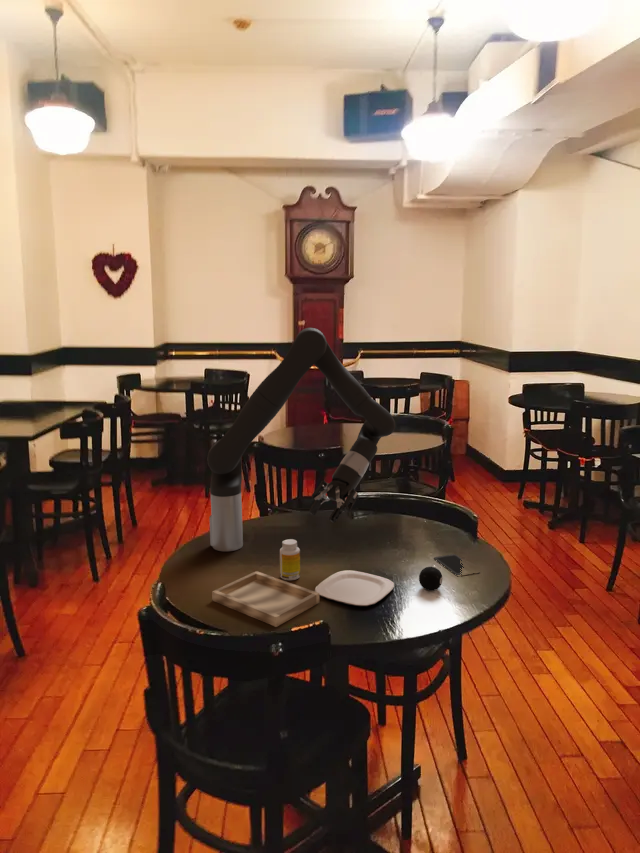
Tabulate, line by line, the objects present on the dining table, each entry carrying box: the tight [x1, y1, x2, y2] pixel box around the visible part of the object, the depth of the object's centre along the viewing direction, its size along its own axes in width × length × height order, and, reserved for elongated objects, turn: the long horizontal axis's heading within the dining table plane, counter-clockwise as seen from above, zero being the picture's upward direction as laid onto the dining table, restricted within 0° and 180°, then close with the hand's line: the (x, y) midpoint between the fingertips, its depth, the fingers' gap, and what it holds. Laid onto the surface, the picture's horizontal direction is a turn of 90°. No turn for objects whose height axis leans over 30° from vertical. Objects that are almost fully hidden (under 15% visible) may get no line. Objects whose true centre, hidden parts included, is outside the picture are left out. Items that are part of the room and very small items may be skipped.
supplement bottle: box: [279, 538, 301, 581], centre depth 184 cm, size 6×6×10 cm
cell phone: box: [433, 553, 464, 576], centre depth 192 cm, size 7×14×1 cm, turn 20°
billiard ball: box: [418, 566, 443, 591], centre depth 177 cm, size 6×6×6 cm
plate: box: [314, 569, 395, 607], centre depth 176 cm, size 18×18×2 cm
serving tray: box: [211, 570, 320, 628], centre depth 170 cm, size 22×16×2 cm
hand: (321, 517), depth 190 cm, fingers open, 8 cm apart
